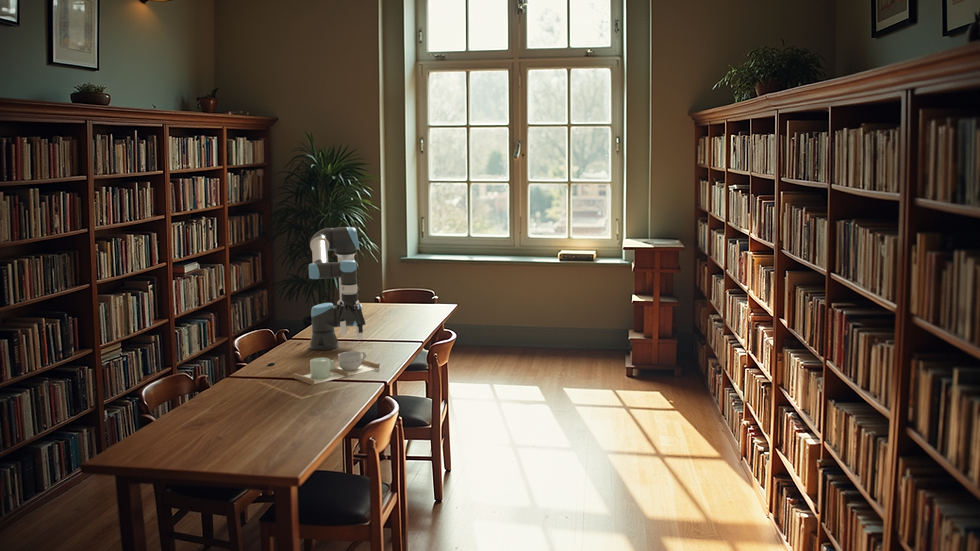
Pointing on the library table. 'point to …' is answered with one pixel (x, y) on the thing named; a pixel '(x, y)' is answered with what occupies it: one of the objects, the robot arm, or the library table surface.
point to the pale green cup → (321, 368)
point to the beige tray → (340, 372)
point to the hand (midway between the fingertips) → (351, 337)
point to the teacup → (350, 360)
